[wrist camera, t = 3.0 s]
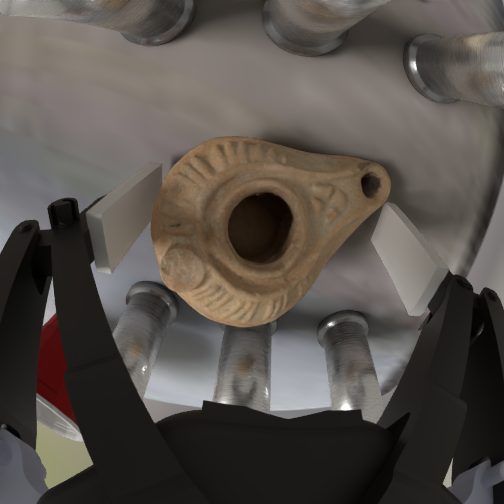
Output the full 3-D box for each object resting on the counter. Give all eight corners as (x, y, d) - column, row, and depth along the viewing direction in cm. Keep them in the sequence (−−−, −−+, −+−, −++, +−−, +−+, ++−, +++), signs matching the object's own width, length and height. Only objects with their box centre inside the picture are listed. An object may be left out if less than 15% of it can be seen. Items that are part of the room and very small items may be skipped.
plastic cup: (114, 305, 22) (59, 419, 12) (126, 365, 28) (96, 452, 18) (31, 274, 21) (-29, 357, 11) (56, 337, 27) (18, 409, 17)
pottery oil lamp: (380, 241, 17) (421, 316, 11) (208, 268, 19) (185, 349, 13) (373, 108, 12) (443, 127, 6) (166, 147, 14) (101, 191, 9)
